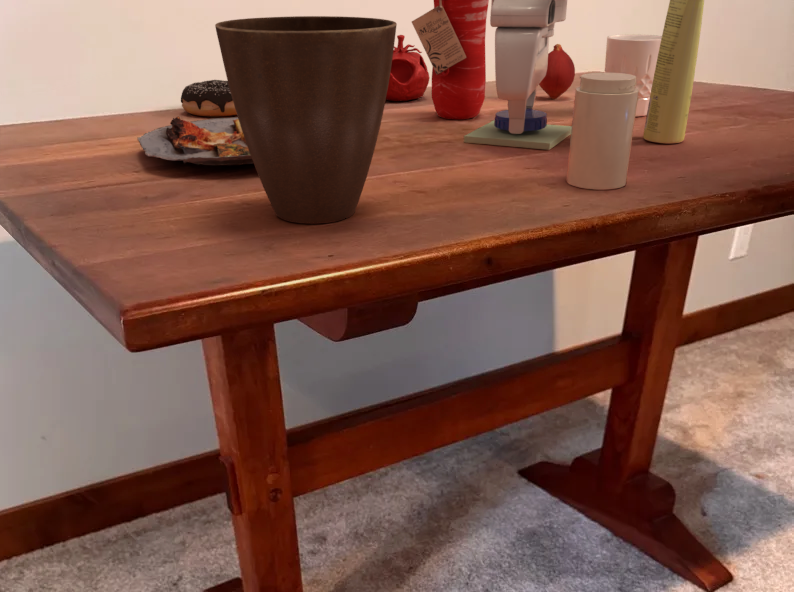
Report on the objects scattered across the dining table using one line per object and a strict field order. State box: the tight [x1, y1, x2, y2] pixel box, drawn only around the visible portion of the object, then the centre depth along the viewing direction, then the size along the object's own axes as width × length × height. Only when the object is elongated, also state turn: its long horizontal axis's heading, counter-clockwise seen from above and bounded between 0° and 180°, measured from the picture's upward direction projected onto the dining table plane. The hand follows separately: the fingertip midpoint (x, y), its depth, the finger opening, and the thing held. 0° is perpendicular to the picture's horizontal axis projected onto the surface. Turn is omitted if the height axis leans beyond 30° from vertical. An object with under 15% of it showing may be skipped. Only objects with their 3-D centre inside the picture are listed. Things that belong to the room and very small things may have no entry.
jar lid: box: [494, 109, 548, 131], centre depth 101 cm, size 6×6×2 cm
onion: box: [538, 43, 576, 100], centre depth 124 cm, size 6×6×8 cm
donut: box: [180, 79, 237, 118], centre depth 119 cm, size 11×12×4 cm
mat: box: [463, 119, 572, 151], centre depth 101 cm, size 11×11×1 cm
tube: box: [642, 0, 705, 144], centre depth 94 cm, size 6×5×20 cm
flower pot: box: [214, 15, 398, 225], centre depth 70 cm, size 15×15×16 cm
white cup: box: [604, 33, 662, 118], centre depth 113 cm, size 8×8×10 cm
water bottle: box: [411, 0, 490, 120], centre depth 107 cm, size 12×8×25 cm, turn 135°
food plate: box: [136, 116, 254, 166], centre depth 95 cm, size 25×23×4 cm
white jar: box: [565, 71, 639, 191], centre depth 80 cm, size 6×6×10 cm
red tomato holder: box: [386, 34, 430, 102], centre depth 126 cm, size 10×10×9 cm
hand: (520, 126), depth 101 cm, fingers closed on jar lid, 6 cm apart
